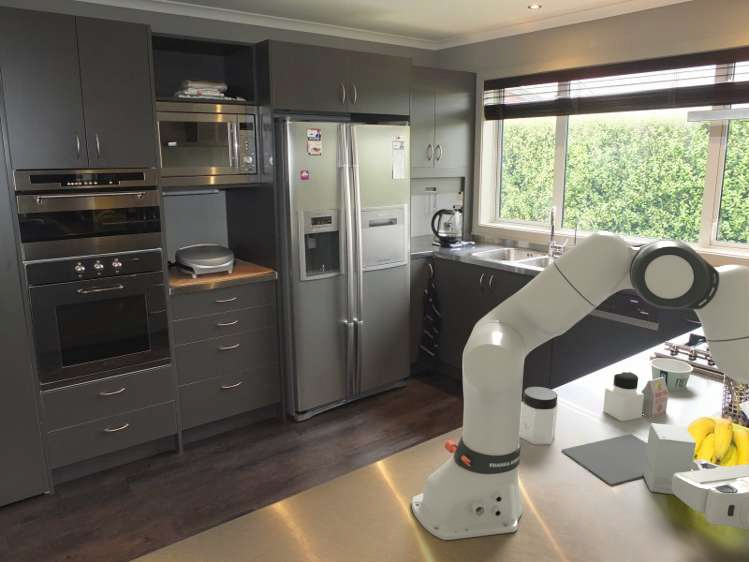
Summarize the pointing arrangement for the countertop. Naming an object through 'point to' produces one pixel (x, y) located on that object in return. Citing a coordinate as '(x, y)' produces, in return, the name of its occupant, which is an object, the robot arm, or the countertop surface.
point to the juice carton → (655, 397)
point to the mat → (612, 458)
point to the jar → (538, 415)
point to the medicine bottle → (624, 397)
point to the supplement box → (667, 455)
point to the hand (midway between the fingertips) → (696, 462)
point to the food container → (671, 372)
